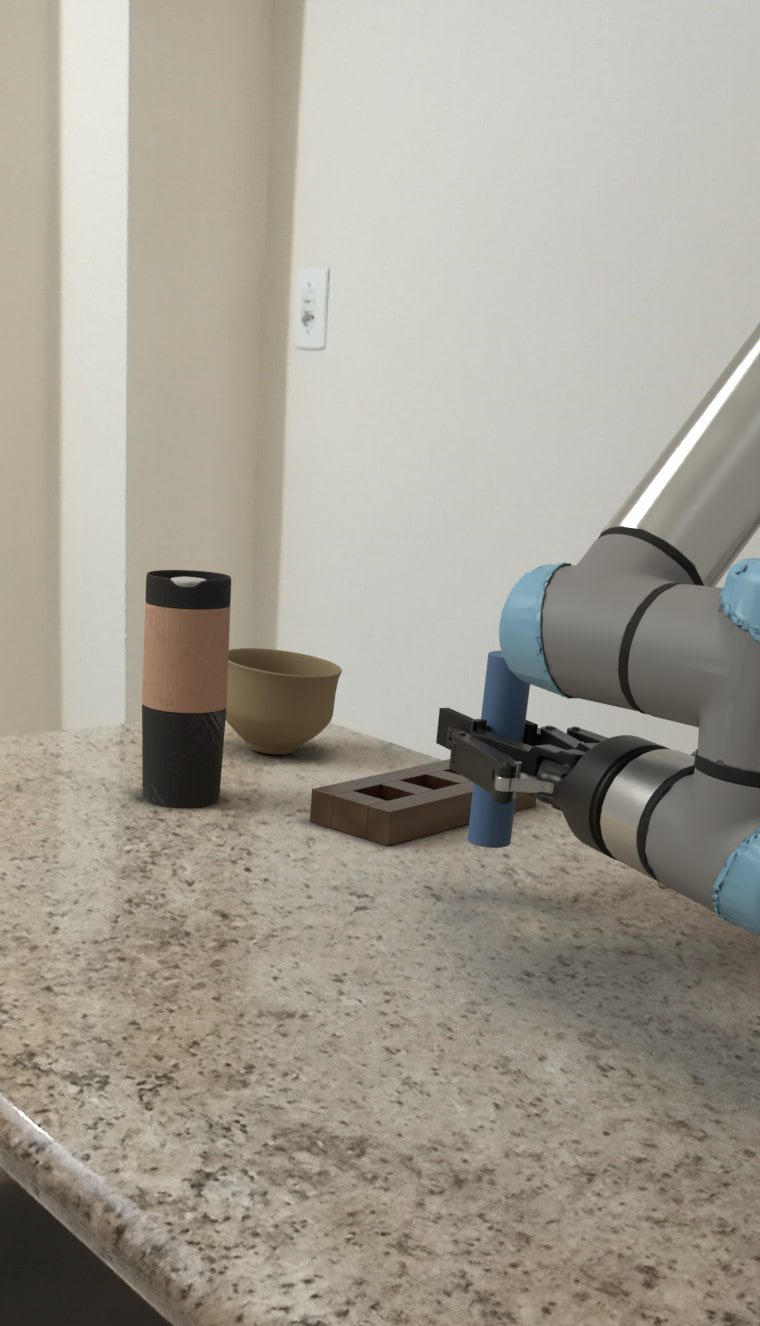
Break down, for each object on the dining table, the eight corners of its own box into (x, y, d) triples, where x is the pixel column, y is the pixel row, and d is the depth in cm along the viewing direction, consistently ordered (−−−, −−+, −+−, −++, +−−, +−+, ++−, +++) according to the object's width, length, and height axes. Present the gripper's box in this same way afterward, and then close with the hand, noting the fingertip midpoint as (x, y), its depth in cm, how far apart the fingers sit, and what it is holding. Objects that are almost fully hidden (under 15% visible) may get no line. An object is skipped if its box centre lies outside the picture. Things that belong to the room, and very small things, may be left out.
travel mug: (184, 782, 132) (192, 568, 125) (239, 800, 127) (250, 577, 120) (122, 794, 127) (127, 571, 120) (176, 813, 122) (184, 581, 115)
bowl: (314, 771, 139) (322, 672, 135) (198, 755, 143) (202, 658, 139) (349, 747, 150) (356, 654, 146) (240, 733, 154) (244, 642, 150)
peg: (518, 843, 103) (542, 655, 98) (493, 850, 101) (516, 659, 96) (484, 833, 106) (505, 648, 100) (458, 840, 103) (479, 652, 98)
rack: (536, 805, 130) (540, 775, 129) (388, 846, 116) (391, 811, 115) (459, 785, 136) (462, 756, 135) (309, 821, 122) (311, 788, 121)
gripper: (524, 873, 84) (364, 777, 104) (744, 856, 89) (550, 767, 109) (540, 752, 81) (372, 677, 101) (766, 742, 86) (562, 673, 107)
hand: (465, 724), depth 105 cm, fingers closed on peg, 3 cm apart
